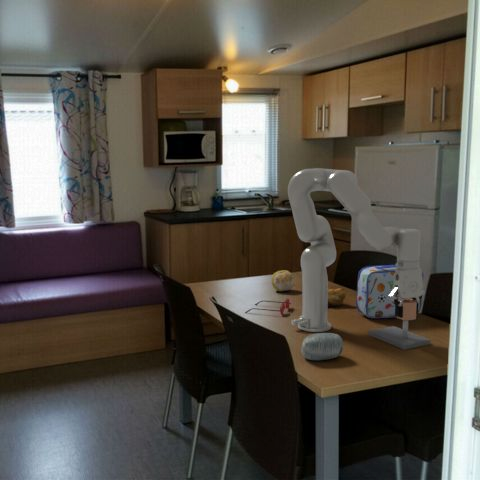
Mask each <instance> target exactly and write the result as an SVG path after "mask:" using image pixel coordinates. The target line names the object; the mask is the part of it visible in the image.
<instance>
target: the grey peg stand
mask: <svg viewBox="0 0 480 480" xmlns="http://www.w3.org/2000/svg"><path fill="white" fill-rule="evenodd" d="M368 336H370V337H373V338H375V339H378V340H380V341H383V342H384V343H387V344H388V345H389V344H390V345H391V346H395V347H397V348H399V349H401V350H409V349H413V348H418V347H419V348H420V347H423V346H427V345H430V344H431V339H429V338H427V337H424V336H421V335H418V334H416V333H414V332H411V331H409V320H402V328H400V327H398V326H395V325H391V326H387V327H383V328H382V327H381V328H377V329H372V330H368Z"/></svg>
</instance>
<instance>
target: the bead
mask: <svg viewBox="0 0 480 480" xmlns="http://www.w3.org/2000/svg"><path fill="white" fill-rule="evenodd" d="M398 301H400V299H399V300H398ZM402 306H403V317H402V318H400V317H396V319H399V320H402V321H403V320H408V321H413V320H417V315H416V306H417V300H414V299H404V300H403V303H402Z"/></svg>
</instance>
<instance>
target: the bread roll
mask: <svg viewBox="0 0 480 480" xmlns="http://www.w3.org/2000/svg"><path fill="white" fill-rule="evenodd" d="M346 297H347V291H346V288H344V287H341V288H339V287H338V288H335V289H334V288H331V289H329V288H328V307H338V306H342V305H343V303H344V300H345V299H346Z"/></svg>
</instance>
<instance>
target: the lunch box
mask: <svg viewBox="0 0 480 480" xmlns="http://www.w3.org/2000/svg"><path fill="white" fill-rule="evenodd" d="M396 269H397V267H396V264H389V265H384V264H383V265H366V266H364V267H362V268H361V269H360V270H359V271H358V275H357V281H356V282H357V283H356V302H355V304H356V310H357V311H358V312H359V313H361V314H364V315H365V316H366V317H368V318H370V319H390V318H391V319H394V318H395V319H397V316H395V305H394V303H393V302H392V300H391V299H390V298H389V295H390V294H391V292H392V291H393V282H394V275H395V270H396ZM421 271H422V278H423V279H424V272H423V270H422V269H421ZM395 298H396V297H395ZM409 299H411V298H409ZM422 301H423V297H422V298H421V299H420V303H418V313H420V311H421V308H422V303H423V302H422Z"/></svg>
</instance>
